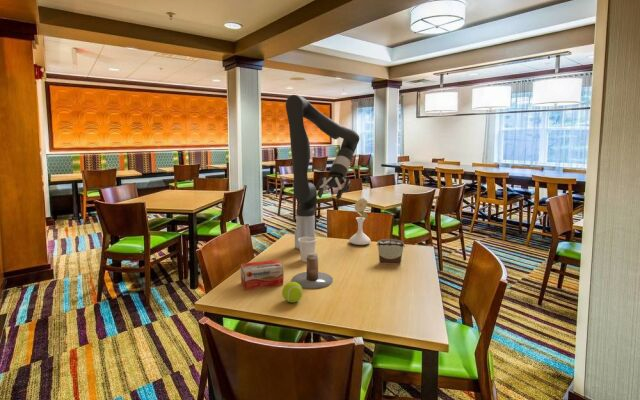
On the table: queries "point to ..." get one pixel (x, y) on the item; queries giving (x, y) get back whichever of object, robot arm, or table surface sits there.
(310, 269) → the pepper mill
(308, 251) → the dixie cup
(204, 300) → the table surface
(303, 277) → the trivet
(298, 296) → the tennis ball
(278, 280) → the medicine box
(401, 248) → the food container
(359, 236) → the flower in vase
